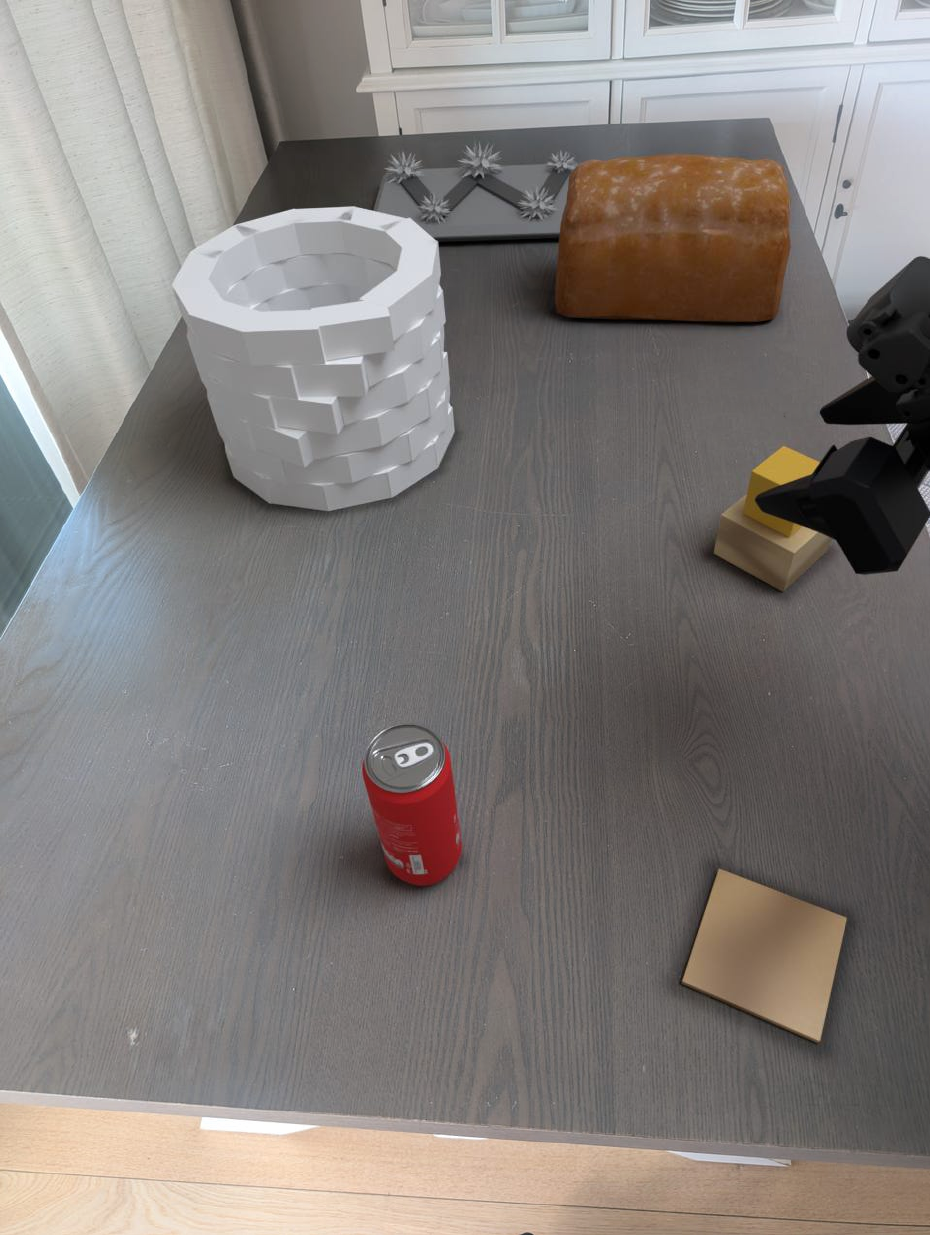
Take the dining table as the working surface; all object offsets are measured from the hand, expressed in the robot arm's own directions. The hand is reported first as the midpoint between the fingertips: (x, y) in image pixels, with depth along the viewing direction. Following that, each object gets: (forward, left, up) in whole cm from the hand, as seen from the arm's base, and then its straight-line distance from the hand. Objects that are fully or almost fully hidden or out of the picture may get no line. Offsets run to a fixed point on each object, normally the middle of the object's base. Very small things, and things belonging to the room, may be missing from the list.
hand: (792, 458), depth 56 cm
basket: (+45, -12, -19) cm, 50 cm away
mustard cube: (+1, -12, -15) cm, 19 cm away
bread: (+23, -52, -19) cm, 60 cm away
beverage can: (+15, +26, -19) cm, 35 cm away
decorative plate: (+55, -66, -19) cm, 88 cm away
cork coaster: (-7, +23, -19) cm, 30 cm away
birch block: (+1, -12, -19) cm, 23 cm away
